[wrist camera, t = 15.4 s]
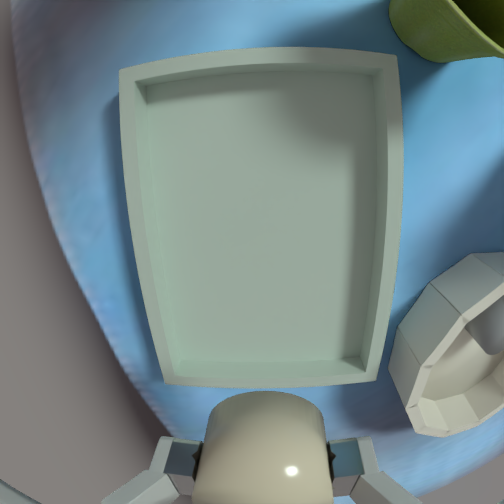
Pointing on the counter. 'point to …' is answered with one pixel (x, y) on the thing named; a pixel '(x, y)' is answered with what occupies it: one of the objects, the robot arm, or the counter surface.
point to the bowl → (450, 350)
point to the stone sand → (264, 452)
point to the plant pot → (450, 28)
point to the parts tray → (265, 212)
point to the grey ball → (489, 328)
